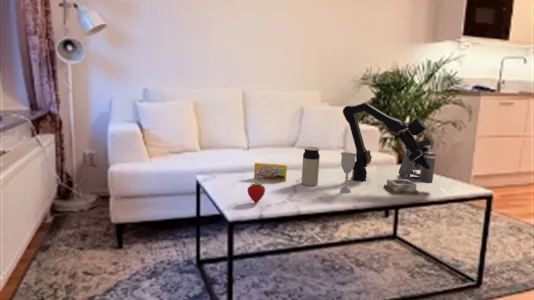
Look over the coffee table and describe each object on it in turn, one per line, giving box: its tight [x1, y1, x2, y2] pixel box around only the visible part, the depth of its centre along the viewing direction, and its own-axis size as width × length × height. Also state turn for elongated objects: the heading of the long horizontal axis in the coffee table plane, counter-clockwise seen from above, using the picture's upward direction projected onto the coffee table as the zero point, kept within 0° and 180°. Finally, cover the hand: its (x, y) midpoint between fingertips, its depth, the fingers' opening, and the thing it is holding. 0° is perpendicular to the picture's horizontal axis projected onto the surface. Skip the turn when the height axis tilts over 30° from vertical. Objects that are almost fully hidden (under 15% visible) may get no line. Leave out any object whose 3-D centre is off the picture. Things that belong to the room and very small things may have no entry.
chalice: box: [339, 151, 357, 194], centre depth 199 cm, size 7×7×18 cm
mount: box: [383, 178, 420, 195], centre depth 206 cm, size 12×12×4 cm
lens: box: [418, 151, 437, 184], centre depth 205 cm, size 6×6×14 cm
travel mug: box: [301, 146, 320, 187], centre depth 209 cm, size 8×8×18 cm
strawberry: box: [247, 179, 266, 204], centre depth 176 cm, size 6×8×10 cm
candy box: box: [253, 162, 288, 182], centre depth 216 cm, size 16×2×8 cm, turn 83°
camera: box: [398, 149, 421, 180], centre depth 234 cm, size 11×17×20 cm, turn 86°
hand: (430, 167), depth 205 cm, fingers closed on lens, 6 cm apart
